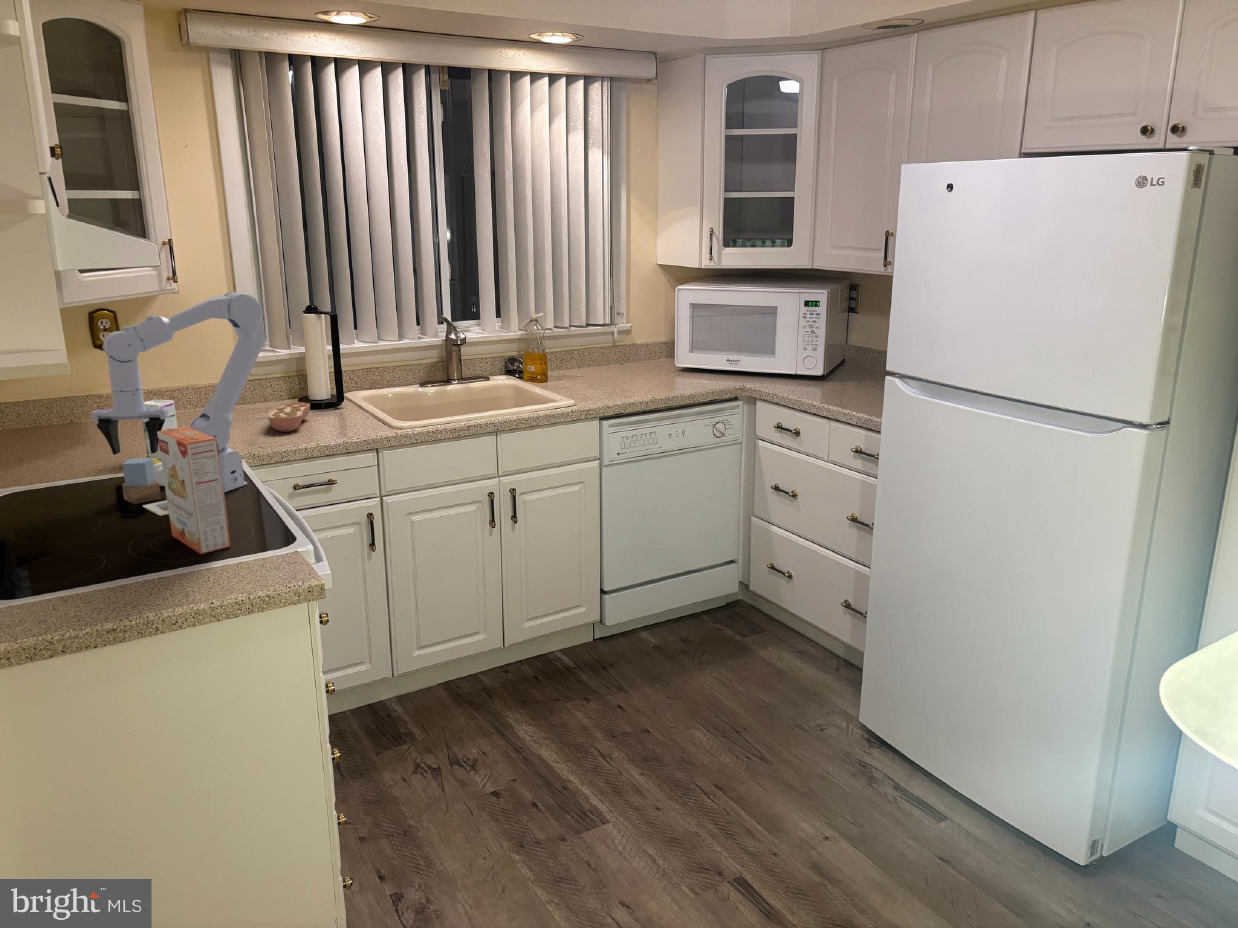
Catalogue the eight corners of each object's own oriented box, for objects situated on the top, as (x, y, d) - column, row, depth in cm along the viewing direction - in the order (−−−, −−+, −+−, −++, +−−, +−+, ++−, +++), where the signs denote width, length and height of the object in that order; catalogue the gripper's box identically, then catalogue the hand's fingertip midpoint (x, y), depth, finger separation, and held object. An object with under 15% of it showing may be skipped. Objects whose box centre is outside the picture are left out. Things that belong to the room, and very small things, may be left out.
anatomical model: (301, 434, 260) (299, 417, 259) (263, 436, 258) (262, 418, 257) (313, 417, 282) (312, 401, 281) (279, 419, 280) (277, 402, 279)
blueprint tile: (189, 509, 193) (189, 507, 193) (160, 515, 189) (159, 513, 189) (172, 500, 199) (171, 498, 199) (142, 506, 195) (142, 505, 195)
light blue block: (155, 480, 202) (152, 457, 201) (147, 485, 198) (144, 463, 196) (133, 480, 201) (130, 458, 200) (125, 486, 197) (122, 463, 196)
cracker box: (169, 537, 176) (155, 430, 171) (202, 530, 180) (188, 425, 175) (198, 556, 167) (184, 442, 161) (232, 547, 171) (218, 437, 165)
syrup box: (182, 455, 237) (175, 399, 233) (165, 461, 231) (158, 404, 228) (163, 454, 238) (156, 398, 235) (146, 459, 233) (138, 403, 229)
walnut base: (160, 498, 201) (158, 483, 200) (134, 504, 197) (131, 488, 196) (150, 493, 204) (148, 478, 203) (124, 499, 200) (122, 483, 199)
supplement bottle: (161, 456, 215) (177, 464, 209) (162, 478, 217) (178, 487, 210) (136, 458, 212) (152, 466, 205) (137, 481, 213) (153, 490, 206)
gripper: (169, 385, 199) (177, 447, 202) (98, 387, 197) (107, 449, 201) (158, 391, 192) (166, 455, 196) (83, 393, 191) (93, 457, 194)
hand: (135, 452), depth 198 cm, fingers open, 7 cm apart
